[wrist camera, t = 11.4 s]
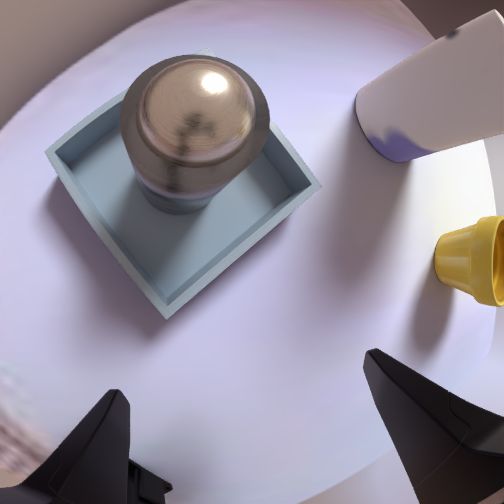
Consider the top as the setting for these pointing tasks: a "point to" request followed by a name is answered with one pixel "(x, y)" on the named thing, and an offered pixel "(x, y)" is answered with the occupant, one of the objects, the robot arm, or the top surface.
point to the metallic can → (192, 129)
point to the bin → (175, 226)
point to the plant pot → (474, 260)
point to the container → (439, 94)
